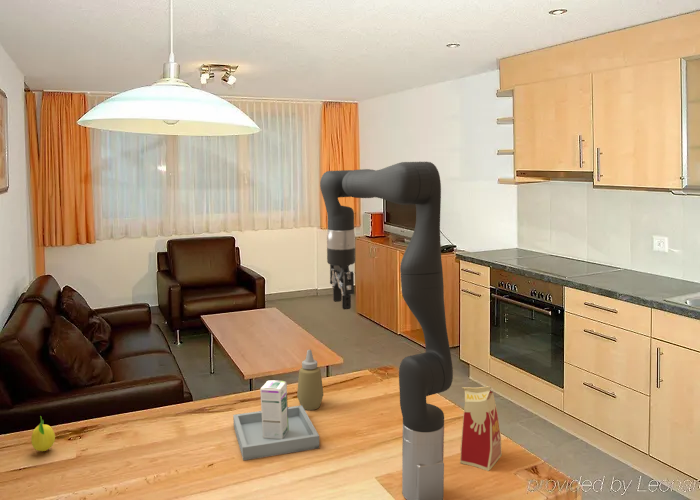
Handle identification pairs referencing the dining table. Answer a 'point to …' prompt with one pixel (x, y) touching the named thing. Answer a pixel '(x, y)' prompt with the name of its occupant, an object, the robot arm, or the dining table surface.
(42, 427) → the lemon
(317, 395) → the squeeze bottle
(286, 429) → the syrup box
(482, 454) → the milk carton
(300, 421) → the tray
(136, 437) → the dining table surface
